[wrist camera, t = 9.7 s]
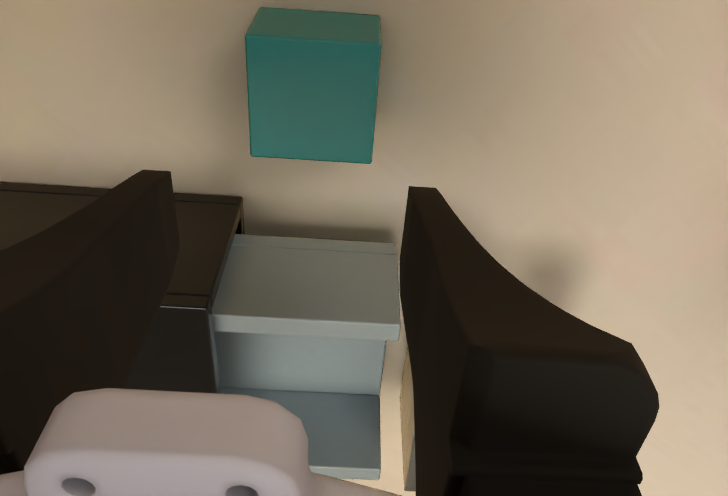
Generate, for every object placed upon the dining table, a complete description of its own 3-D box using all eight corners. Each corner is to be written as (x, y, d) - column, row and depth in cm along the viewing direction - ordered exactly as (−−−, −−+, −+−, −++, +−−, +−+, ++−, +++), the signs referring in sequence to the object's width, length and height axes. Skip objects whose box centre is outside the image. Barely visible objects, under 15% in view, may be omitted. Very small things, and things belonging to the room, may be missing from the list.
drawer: (575, 240, 25) (616, 327, 21) (522, 404, 31) (545, 497, 27) (143, 214, 24) (97, 299, 20) (172, 386, 30) (141, 479, 26)
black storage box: (242, 196, 25) (207, 308, 19) (253, 385, 31) (229, 508, 26) (-95, 175, 24) (-228, 284, 19) (-13, 372, 31) (-94, 494, 26)
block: (259, 6, 21) (244, 34, 18) (380, 14, 21) (381, 43, 18) (262, 118, 23) (250, 157, 20) (371, 125, 23) (371, 164, 21)
